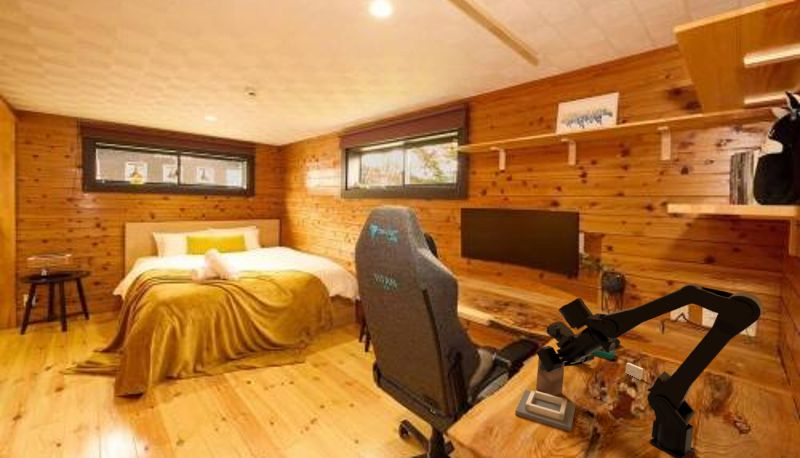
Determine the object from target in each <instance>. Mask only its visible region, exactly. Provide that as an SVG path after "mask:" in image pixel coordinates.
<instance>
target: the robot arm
mask: <svg viewBox="0 0 800 458" xmlns="http://www.w3.org/2000/svg"><path fill="white" fill-rule="evenodd" d="M690 305H695V306H698V307H700V308H703V309H706V310H707V311H709V312H713V313H715V314H717V315H716V317H715V319H714V321H713V324H712V326H711V328H710V329H709V330H708V332H707V333H706V334H705V335H704V336H703V338H702V339H701V340H700V341H699V343H698V344H697V345H696V346H695V347H694V348H693V350H692V351H691V352H690V353H689V354H688V355H687V357H686V358H685V359H684V360H683V362H682V363H681V364H680V365H679V366H678V368H677V369H676V370H675V371H674V372H673V373H671V374H669V373H668V372H667V371H664V370H663V372H661V373H660V375H659V376H657V378H656V379H655V381H654V383H652V384H651V385H650V386H649V387H648V388H647V392H648V394H647V398H646V399H647V402H648V403H647V404H648V405H649V407H650V409H651V410H653V413H654V415H655V419H654V420H652V426H651V437H652V438H651V439H649V444H651V445H653V446H655V447H657V448H659V449H660V450H662V451H664V452H666V453H668V454H670V455H672V456H674V457H676V458H686V457H688V456H689V455H691V454H692V453H693V452H695V448H694V447H693V446H692V443H693V433H694V425H691V423H690V422H691V421H692V418H693V417H694V415H695V414H696V411H695V409H693V408H692V407H691V405H690V404H689V403H688V401H687V400H686V398H687V396H688V395H689V392H690V390H691V388H692V386H693V384H694V383H695V381H696V380H697V379H698V377H700V376H701V374H702V373H704V371H705V370H706V369H707V367H708V366H709V365H710V364H711V363H712V362H713V360H714V359H715V358H716V357H717V356H718V354H720V352H721V351H722V350H723V349H724V348H725V347H726V345H728V343H729V342H730V341H731V340H733V339H734V338H735V337H736V336H737V335H739V334H742V332H744V331H745V330H747V329H748V328H750V326H751V325H753V324H755V323H756V322H757V321H758V320H759V318H760V317H761V316H762V314H763V312H764V304H763V302H762V300H761V299H760V298H759V297H757V295H755V294H752V293H750V292H745V291H743V292H742V291H741V292H734V293H733V292H729V291H726V290H722V289H717V288H712V287H706V286H703V285H699V284H697V283H689V284H685V285H684V286H682V287H681V288H679V289H677V290H674V291H672V292H669V293H667V294H665V295H662V296H660V297H658V298H655V299H653V300H650V301H648V302H646V303H643V304H641V305H638V306H636V307H629V308H625V309H620V310H616V311H612V312H610V313H607V314H606V313H594V314H593V312H592V311H591V310H590V309H589V307H588V306H587V304H586V303H585V301H584V300H583V299H582V297H577V298H576V299H574V300H572V301H569V303H566V304H563V306H561V307H560V308H558V310H557V311H558V312H559V313H560V315H561V316H562V318H563V319H564V320H565V321H566V323H567V324H568V325H567V324H565V323H564V322H562V321H555V322H552V323H551V324H549V325H548V326H546V334H547V335H548V336H549V337H550V338H551V339H554V340H555V341H557V342H556V343H555V344H556V346H557V347H558V349H556V350H555V348H554V347H553V346H550V345H546V346H541V347H539V348H538V349H536V355H537V357H538V359H539V358H540V360H541V362H542V363H541V365H540V369H541V370H546V371H547V372H553V371H557V370H561V368H562V365H563V362H565V365H564V367H573V366H574V367H575V366H579V365H582V364H586V363H590V362H592V361H593V360H595V357H596V356H595V354H594V353H593V352H595V351H596V350H598V349H600V348H601V347H603V349H604V350H605V351H606V352H607V353H609V352H611V351H612V350H614V351H615V349H616V346H615V341H614V340H612V339H615V338H617V339H619V337H622V336H624V335H625V334H627V333H628V332H630V331H632V330H634V329H635V328H636V327H638V326H640V325H641V324H643V323H646V322H647V321H651V320H654V319H655V318H658V317H660V316H663V315H665V314H668V313H670V312H674V311H675V310H679V309H681V308H684V307H686V306H690ZM585 326H586V328H584V327H585ZM582 328H584V329H582ZM572 329H576V330H580V329H582V330H581V331H579V332H578V333H576V334H575V333H574V332H573V330H572ZM560 358H561V359H560ZM583 358H585V360H583ZM582 360H583V361H582Z"/></svg>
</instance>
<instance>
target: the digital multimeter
mask: <svg viewBox="0 0 800 458" xmlns="http://www.w3.org/2000/svg"><path fill="white" fill-rule="evenodd" d="M593 353H594V354H595V357H599V358H602V359H606V360H610V361H611V360H613V359H615V354H616V352H615V349H614V350H612V351H611V352H609V353H607V352H606V351H605V350H604V349H603V347H601V348H600V349H598V350H596V351H595V352H593Z"/></svg>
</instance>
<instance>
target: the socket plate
mask: <svg viewBox="0 0 800 458" xmlns="http://www.w3.org/2000/svg"><path fill="white" fill-rule="evenodd" d="M575 411H576V403H575V402H571V401H568V398H564V397H560V396H558V395H555V396H553V395H550V394H546V393H543V392H541V391H539V390H538V391H537V390H535V389H531V390H527V389H525V390H524V392H523V394H522V396H521V399H520V401H519V403H518V404H517V407H516V408H515V411H514V413H515V414H514V415H517V416H519V417H523V418H525V419H526V418H527V419H529V420H533V421H536V422H538V423H541V424H546V425H548V426H551V427H554V428H558V429H561V430H563V431H564V430H565V431H568V432H572V427H573V422H574V417H575V413H576V412H575Z"/></svg>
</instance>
